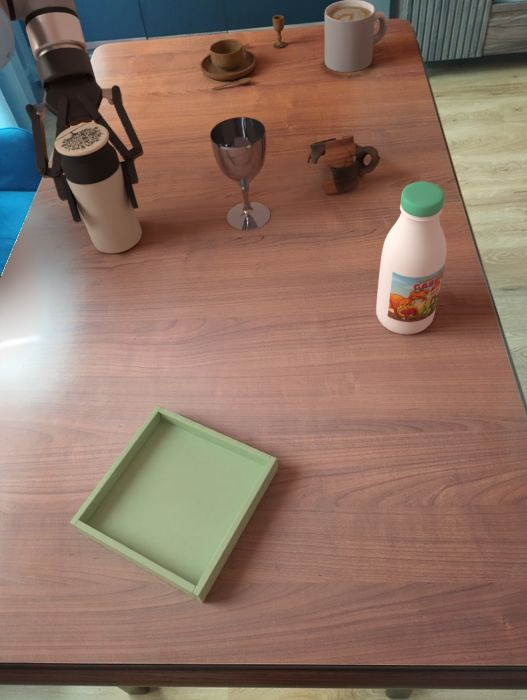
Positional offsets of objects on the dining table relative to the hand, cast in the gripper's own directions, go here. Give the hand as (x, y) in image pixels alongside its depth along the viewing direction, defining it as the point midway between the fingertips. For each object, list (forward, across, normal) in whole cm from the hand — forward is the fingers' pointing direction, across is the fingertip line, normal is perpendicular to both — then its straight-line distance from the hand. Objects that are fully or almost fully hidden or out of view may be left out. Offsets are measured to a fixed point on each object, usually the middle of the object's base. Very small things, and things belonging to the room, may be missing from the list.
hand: (106, 213), depth 86 cm
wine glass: (+5, -21, -6) cm, 23 cm away
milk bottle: (+25, -36, +14) cm, 46 cm away
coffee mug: (-25, -56, -35) cm, 71 cm away
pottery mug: (+2, -39, -9) cm, 40 cm away
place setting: (-30, -34, -41) cm, 61 cm away
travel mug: (+3, 0, -8) cm, 8 cm away
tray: (+36, -2, +26) cm, 45 cm away
